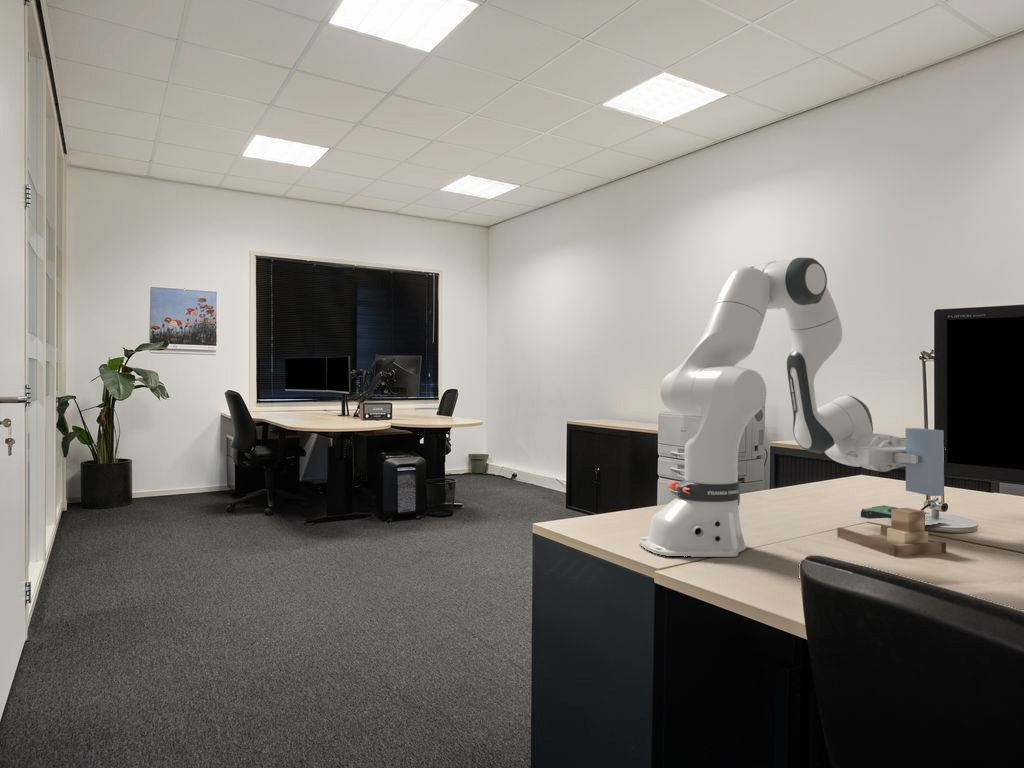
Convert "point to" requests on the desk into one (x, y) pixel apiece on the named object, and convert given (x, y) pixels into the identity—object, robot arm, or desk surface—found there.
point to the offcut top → (908, 520)
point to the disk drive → (878, 512)
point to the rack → (883, 546)
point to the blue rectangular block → (925, 461)
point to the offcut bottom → (906, 537)
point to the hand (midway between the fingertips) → (927, 459)
